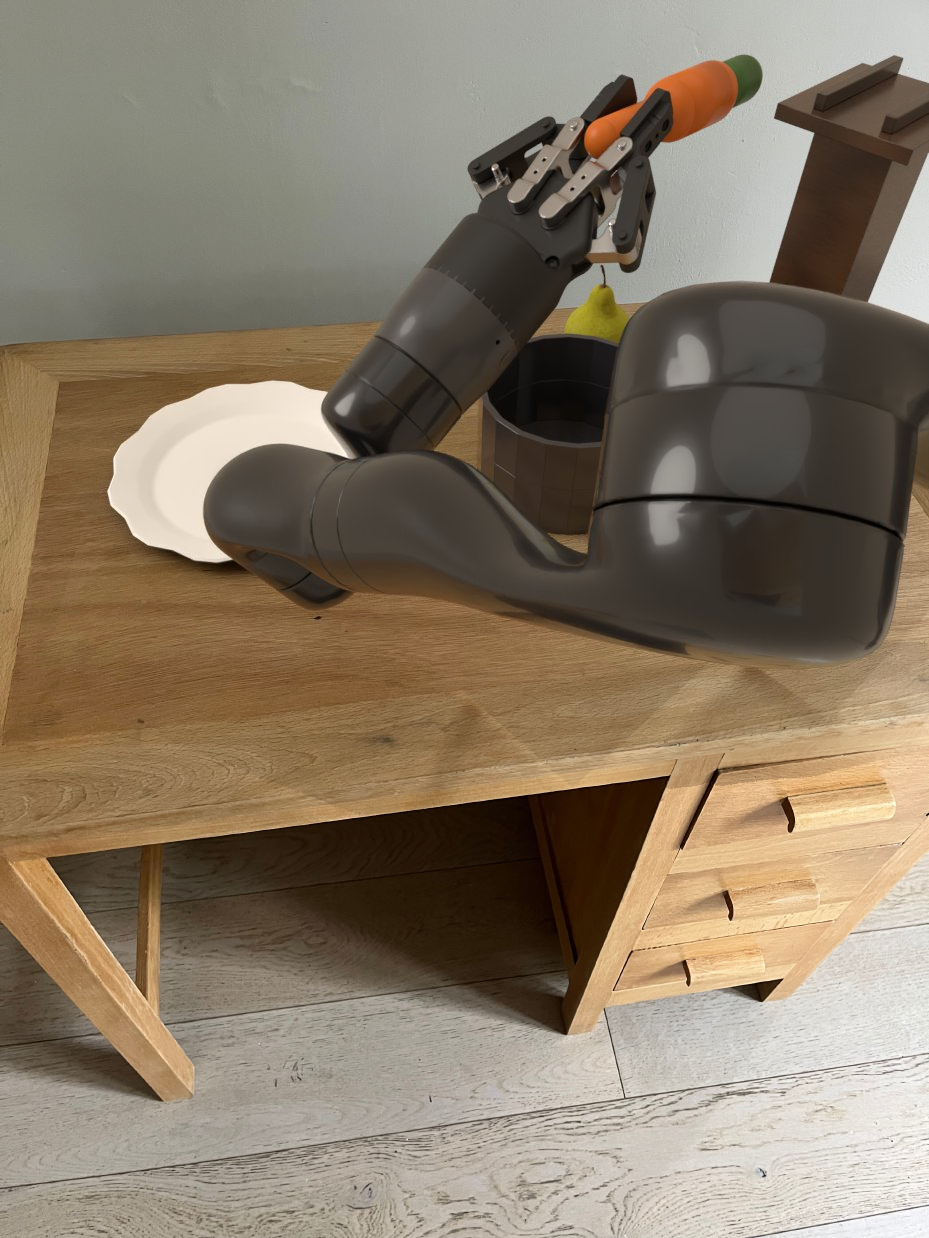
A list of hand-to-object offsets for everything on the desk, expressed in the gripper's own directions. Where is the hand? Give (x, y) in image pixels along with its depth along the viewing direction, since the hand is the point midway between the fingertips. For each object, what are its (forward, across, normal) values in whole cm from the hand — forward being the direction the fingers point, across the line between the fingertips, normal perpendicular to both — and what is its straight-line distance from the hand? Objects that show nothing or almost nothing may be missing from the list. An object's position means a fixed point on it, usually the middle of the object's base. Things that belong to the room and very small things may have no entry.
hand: (647, 95), depth 51 cm
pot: (-15, +5, +32) cm, 35 cm away
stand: (-2, -7, +39) cm, 40 cm away
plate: (-34, +25, +21) cm, 47 cm away
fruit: (-1, +15, +40) cm, 43 cm away
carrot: (+1, 0, +4) cm, 5 cm away
